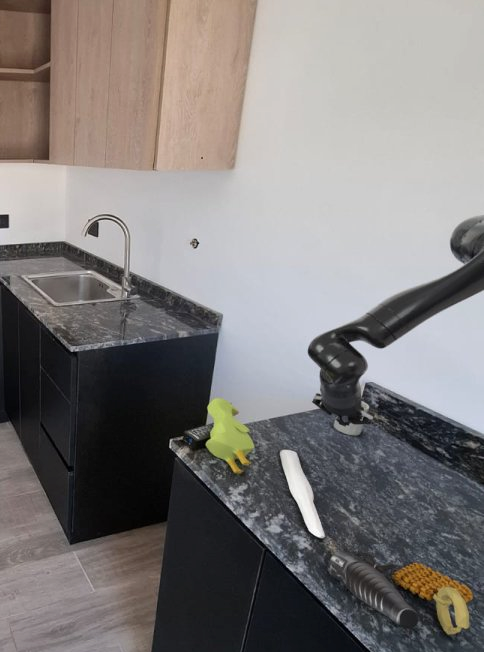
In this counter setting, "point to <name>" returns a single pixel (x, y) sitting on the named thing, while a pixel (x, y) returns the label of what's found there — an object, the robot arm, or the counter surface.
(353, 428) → the pot
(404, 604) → the ribbed torch
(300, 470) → the white long flat piece
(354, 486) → the counter surface
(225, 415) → the toy
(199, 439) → the multiport hub
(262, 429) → the counter surface
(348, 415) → the robot arm
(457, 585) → the ornament
